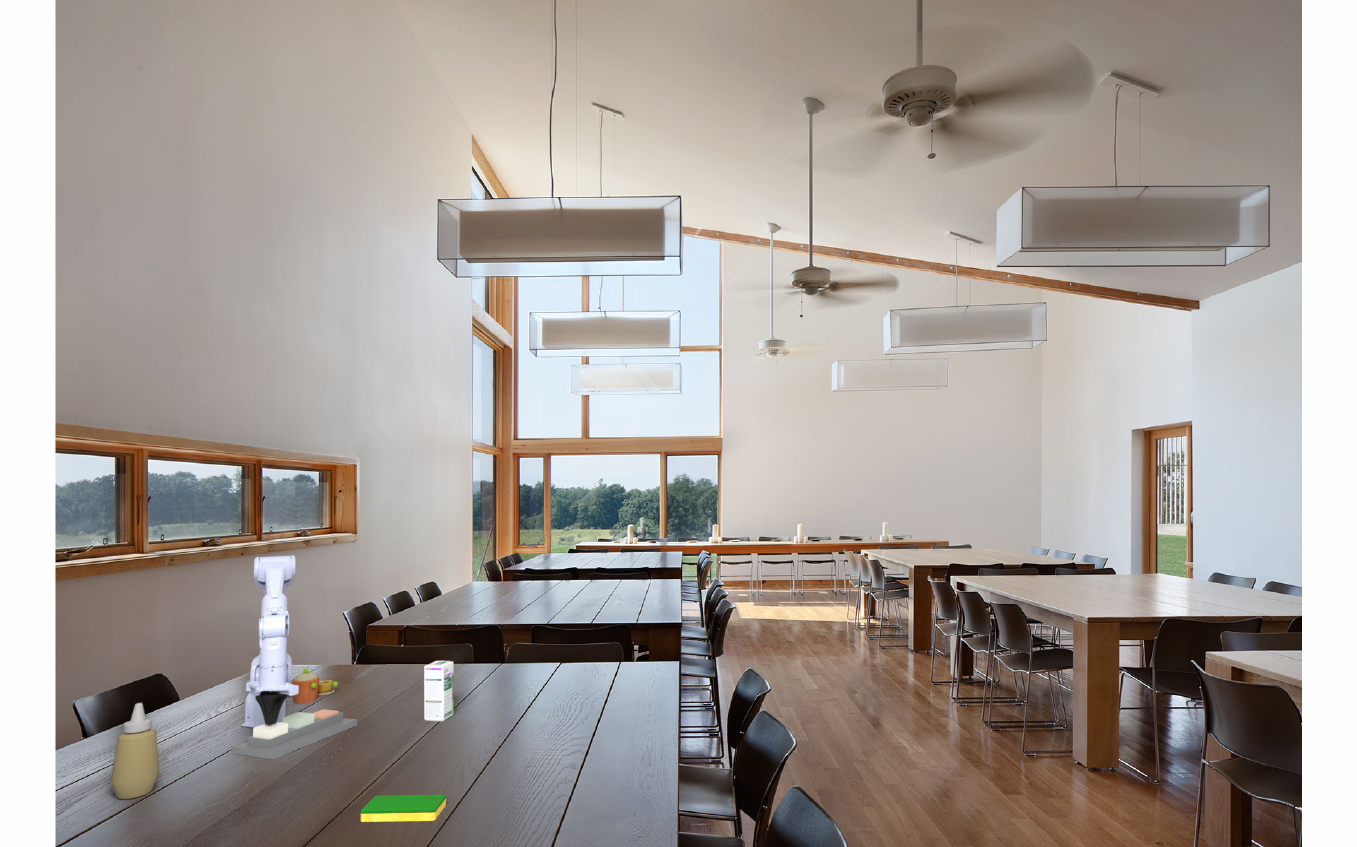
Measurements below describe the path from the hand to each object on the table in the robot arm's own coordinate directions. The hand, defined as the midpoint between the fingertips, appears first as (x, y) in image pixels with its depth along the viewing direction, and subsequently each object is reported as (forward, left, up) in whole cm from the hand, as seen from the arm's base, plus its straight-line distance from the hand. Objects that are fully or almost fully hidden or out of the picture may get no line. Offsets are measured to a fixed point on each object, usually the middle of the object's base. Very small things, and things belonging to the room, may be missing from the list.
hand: (270, 723), depth 179 cm
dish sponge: (+55, -19, -7) cm, 59 cm away
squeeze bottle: (-4, -29, -6) cm, 30 cm away
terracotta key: (0, +16, -4) cm, 17 cm away
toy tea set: (-34, +36, -6) cm, 50 cm away
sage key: (0, +8, -3) cm, 9 cm away
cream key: (0, 0, -3) cm, 3 cm away
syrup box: (+23, +33, -6) cm, 41 cm away
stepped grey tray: (0, +8, -6) cm, 10 cm away
